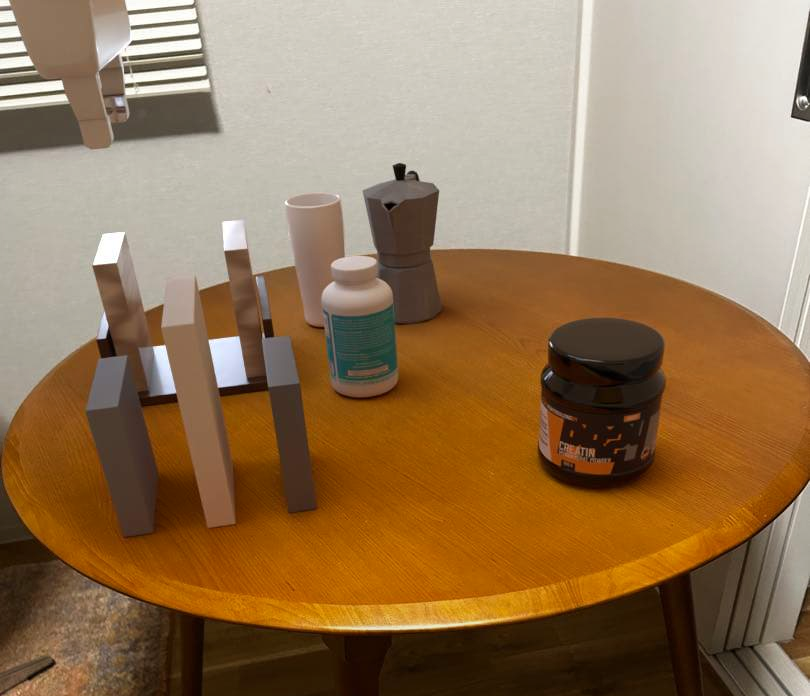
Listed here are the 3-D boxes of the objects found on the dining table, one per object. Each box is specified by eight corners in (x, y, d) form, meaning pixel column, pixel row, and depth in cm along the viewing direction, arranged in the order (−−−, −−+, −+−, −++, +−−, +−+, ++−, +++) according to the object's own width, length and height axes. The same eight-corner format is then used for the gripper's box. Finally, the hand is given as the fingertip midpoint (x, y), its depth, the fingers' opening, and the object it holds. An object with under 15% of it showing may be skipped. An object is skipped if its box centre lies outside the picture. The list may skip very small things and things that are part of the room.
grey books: (123, 537, 71) (84, 410, 64) (131, 477, 79) (98, 358, 72) (317, 509, 73) (299, 383, 66) (306, 452, 81) (289, 334, 74)
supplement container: (514, 468, 77) (518, 345, 70) (574, 423, 83) (583, 305, 76) (617, 506, 71) (633, 376, 64) (674, 454, 78) (693, 330, 71)
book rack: (115, 409, 91) (76, 271, 82) (125, 357, 102) (92, 231, 93) (282, 388, 93) (261, 251, 84) (273, 339, 104) (255, 214, 95)
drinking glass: (362, 321, 108) (352, 199, 99) (316, 335, 105) (301, 210, 96) (335, 307, 112) (323, 188, 103) (290, 320, 109) (274, 199, 100)
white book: (207, 528, 72) (160, 327, 61) (207, 464, 81) (166, 278, 70) (235, 524, 72) (194, 323, 61) (232, 460, 81) (195, 274, 70)
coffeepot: (433, 332, 104) (428, 177, 93) (359, 329, 105) (346, 177, 95) (453, 288, 116) (450, 146, 105) (386, 286, 118) (377, 147, 107)
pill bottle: (412, 383, 93) (406, 259, 85) (363, 407, 88) (352, 280, 80) (366, 365, 97) (356, 246, 89) (317, 387, 93) (302, 265, 85)
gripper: (34, -102, 60) (87, 112, 68) (-46, -115, 44) (36, 168, 52) (123, -107, 61) (165, 106, 69) (78, -122, 44) (140, 159, 53)
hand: (110, 133), depth 60 cm, fingers open, 8 cm apart
